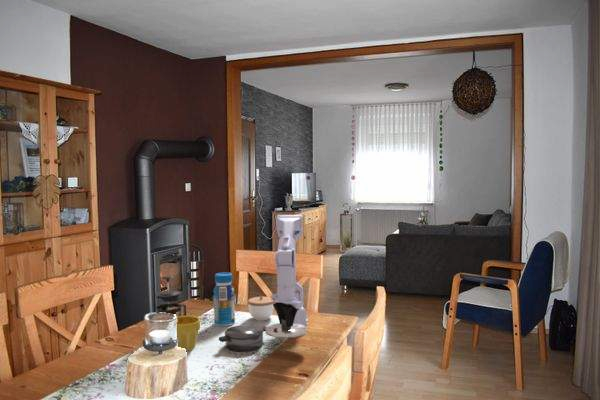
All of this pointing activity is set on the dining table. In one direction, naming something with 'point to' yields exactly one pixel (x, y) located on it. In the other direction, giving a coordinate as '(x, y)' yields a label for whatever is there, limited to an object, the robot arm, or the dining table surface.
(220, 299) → the beverage bottle
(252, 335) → the cooking pot
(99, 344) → the dining table surface
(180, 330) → the plant pot
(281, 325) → the lid
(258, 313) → the lidded jar
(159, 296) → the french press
